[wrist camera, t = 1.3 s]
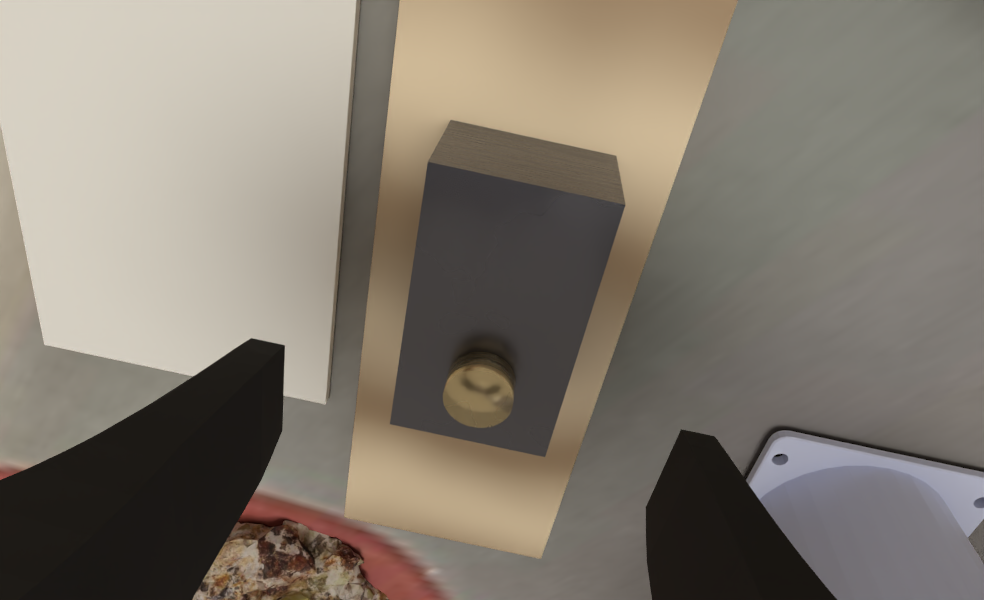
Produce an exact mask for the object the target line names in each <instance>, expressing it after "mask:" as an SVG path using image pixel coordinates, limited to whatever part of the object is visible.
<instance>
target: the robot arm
mask: <svg viewBox="0 0 984 600" xmlns="http://www.w3.org/2000/svg"><path fill="white" fill-rule="evenodd" d="M284 360H285V345H282V344H277V343H272V342H267V341H263V340H258V339H253V338H251V339H249V340H247V341H246V342H244V343H243V344H241V345H240V346H238V347H236V348H235V349H233V350H232V351H230V352H229V353H228V354H226V355H225V356H223V357H222V358H220V359H219V360H217V361H216V362H214V363H213V364H211V365H210V366H208V367H207V368H205V369H204V370H202V371H201V372H199V373H198V374H196V375H195V376H193V377H192V378H190V379H189V380H187V381H186V382H184V383H183V384H181V385H179V386H178V387H176V388H175V389H173V390H172V391H170V392H168V393H167V394H165V395H164V396H162V397H161V398H159V399H157V400H156V401H154V402H153V403H151V404H149V405H148V406H146V407H144V408H143V409H141V410H139V411H138V412H136V413H134V414H132V415H131V416H129V417H127V418H126V419H124V420H122V421H120V422H119V423H117V424H115V425H113V426H112V427H110V428H108V429H106V430H105V431H103V432H101V433H99V434H98V435H96V436H94V437H92V438H90V439H88V440H86V441H84V442H82V443H80V444H78V445H76V446H74V447H73V448H71V449H68V450H66V451H64V452H62V453H60V454H58V455H56V456H54V457H52V458H50V459H47V460H45V461H43V462H41V463H39V464H37V465H35V466H33V467H30V468H28V469H26V470H24V471H21V472H19V473H16V474H14V475H12V476H9V477H7V478H4V479H2V480H0V600H192V599H193V597H194V595H195V593H196V592H197V590H198V588H199V586H200V585H201V583H202V581H203V579H204V578H205V576H206V574H207V573H208V571H209V569H210V567H211V566H212V564H213V562H214V561H215V559H216V557H217V555H218V554H219V552H220V550H221V549H222V547H223V545H224V544H225V542H226V540H227V538H228V537H229V535H230V533H231V532H232V530H233V528H234V526H235V525H236V523H237V521H238V520H239V518H240V516H241V514H242V513H243V511H244V509H245V507H246V506H247V504H248V502H249V501H250V499H251V497H252V495H253V494H254V492H255V490H256V488H257V487H258V485H259V483H260V481H261V479H262V477H263V475H264V472H265V470H266V468H267V466H268V463H269V461H270V459H271V456H272V454H273V452H274V449H275V447H276V444H277V442H278V439H279V437H280V435H281V432H282V421H283V390H284ZM777 454H783V455H782V456H779V457H774V456H775V455H777ZM983 519H984V472H980V471H976V470H971V469H966V468H962V467H957V466H952V465H948V464H943V463H938V462H934V461H929V460H924V459H920V458H915V457H910V456H906V455H901V454H896V453H892V452H887V451H882V450H878V449H873V448H868V447H864V446H859V445H854V444H850V443H845V442H840V441H836V440H831V439H826V438H822V437H817V436H812V435H808V434H803V433H798V432H794V431H787V430H783V431H778V432H776V433H774V434H772V435H771V437H770V438H769V439H768V441H767V443H766V445H765V447H764V448H763V450H762V452H761V454H760V456H759V457H758V459H757V461H756V463H755V465H754V467H753V468H752V470H751V472H750V474H749V476H748V477H747V479H746V480H745V479H744V477H743V476H742V474H741V473H740V472H739V470H738V469H737V467H736V466H735V464H734V463H733V461H732V460H731V459H730V457H729V456H728V454H727V453H726V451H725V450H724V449H723V447H722V446H721V444H720V443H719V442H718V440H717V439H716V438H715V437H714V436H710V435H705V434H700V433H696V432H691V431H686V430H682V429H681V431H680V433H679V436H678V438H677V440H676V442H675V444H674V447H673V449H672V451H671V453H670V455H669V458H668V460H667V462H666V464H665V466H664V469H663V471H662V473H661V475H660V477H659V480H658V482H657V484H656V486H655V489H654V491H653V493H652V495H651V497H650V500H649V502H648V504H647V506H646V546H647V565H648V572H649V580H650V587H651V594H652V600H984V563H983V562H982V560H981V558H980V557H979V555H978V554H977V552H976V551H975V549H974V547H973V546H972V544H971V543H970V541H969V539H968V537H969V536H970V534H971V533H972V532H973V531H974V530H975V529H976V527H977V526H978V525H979V524H980V523H981V522H982V520H983Z"/></svg>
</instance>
